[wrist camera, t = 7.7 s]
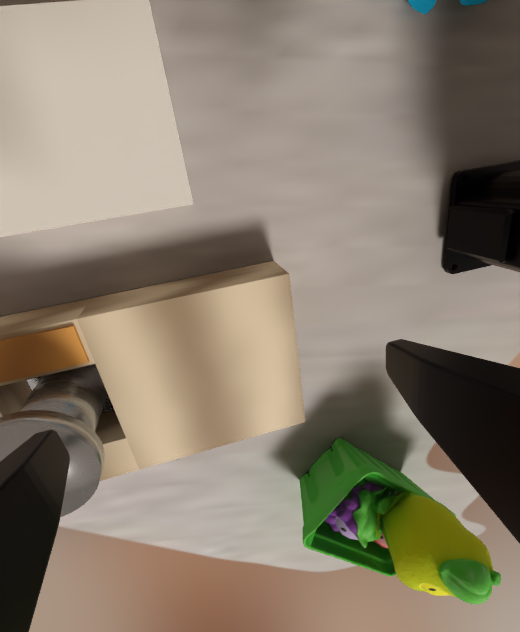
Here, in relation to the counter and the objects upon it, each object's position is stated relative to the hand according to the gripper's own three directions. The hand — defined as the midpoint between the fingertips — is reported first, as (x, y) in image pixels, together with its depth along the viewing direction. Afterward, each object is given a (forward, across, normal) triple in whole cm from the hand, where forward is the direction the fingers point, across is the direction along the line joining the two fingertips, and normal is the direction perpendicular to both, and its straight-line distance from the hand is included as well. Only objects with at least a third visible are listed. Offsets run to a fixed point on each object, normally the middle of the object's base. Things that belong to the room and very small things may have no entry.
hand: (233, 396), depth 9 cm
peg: (+11, +9, +5) cm, 15 cm away
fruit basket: (+12, -9, +20) cm, 25 cm away
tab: (+11, +5, -8) cm, 15 cm away
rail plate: (+11, +5, +5) cm, 13 cm away
